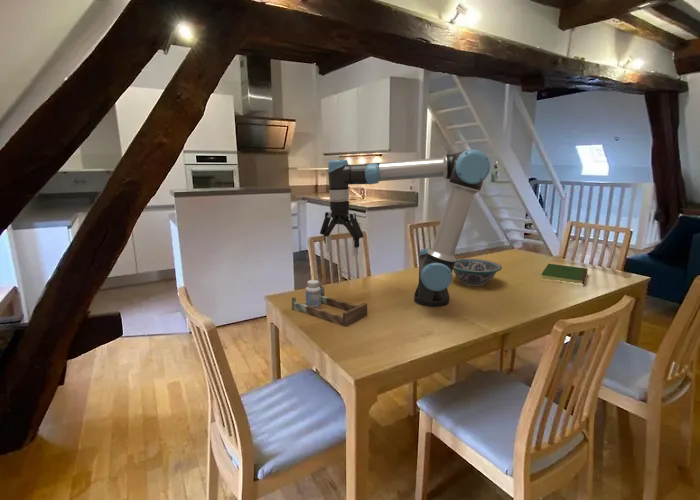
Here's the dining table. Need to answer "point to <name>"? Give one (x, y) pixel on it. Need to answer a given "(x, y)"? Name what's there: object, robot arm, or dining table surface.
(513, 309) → the dining table surface
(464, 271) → the bowl
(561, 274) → the hardcover book
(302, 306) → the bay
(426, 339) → the dining table surface
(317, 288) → the pill bottle
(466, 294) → the dining table surface
